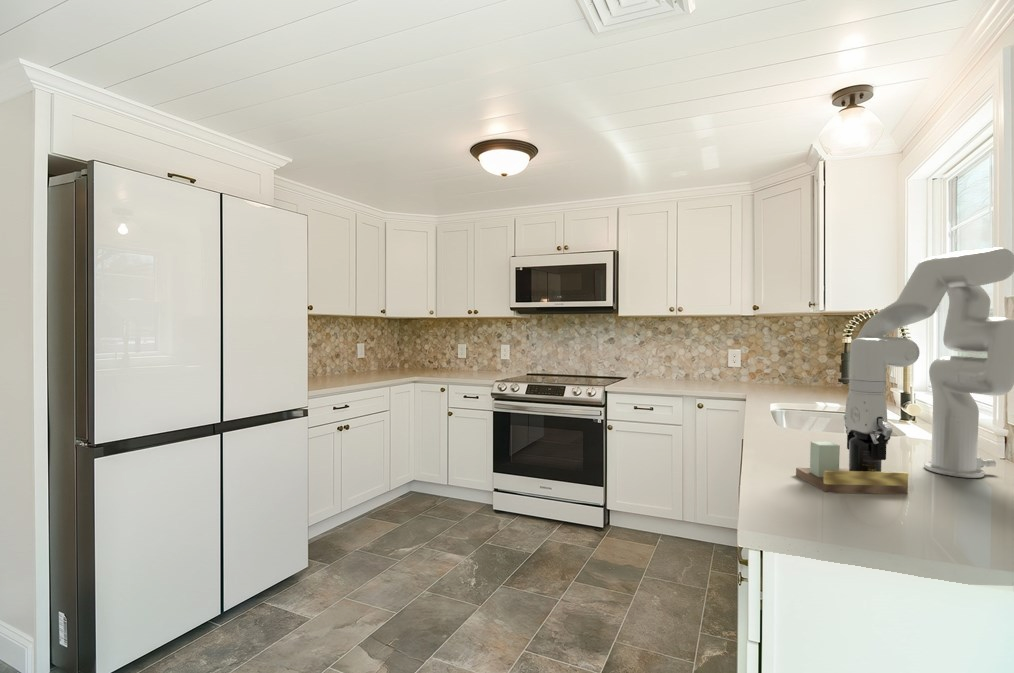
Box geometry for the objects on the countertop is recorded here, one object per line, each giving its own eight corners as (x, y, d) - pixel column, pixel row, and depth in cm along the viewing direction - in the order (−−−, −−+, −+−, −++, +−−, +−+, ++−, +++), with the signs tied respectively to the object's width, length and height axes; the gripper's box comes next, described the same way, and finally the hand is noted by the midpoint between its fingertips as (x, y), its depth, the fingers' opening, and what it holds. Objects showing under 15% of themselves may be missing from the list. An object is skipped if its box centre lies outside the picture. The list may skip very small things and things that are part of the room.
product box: (829, 472, 135) (830, 441, 135) (838, 477, 131) (839, 445, 131) (809, 472, 135) (810, 441, 135) (818, 476, 131) (819, 445, 131)
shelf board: (869, 476, 138) (870, 457, 138) (907, 494, 124) (908, 473, 124) (796, 475, 139) (796, 456, 139) (825, 492, 125) (826, 471, 125)
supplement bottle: (843, 470, 136) (843, 425, 136) (871, 471, 136) (871, 425, 135) (858, 478, 130) (858, 430, 129) (887, 479, 129) (888, 431, 129)
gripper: (832, 382, 141) (830, 446, 141) (874, 391, 123) (872, 463, 124) (860, 383, 140) (859, 446, 141) (907, 391, 123) (905, 464, 124)
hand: (865, 454), depth 132 cm, fingers open, 9 cm apart
